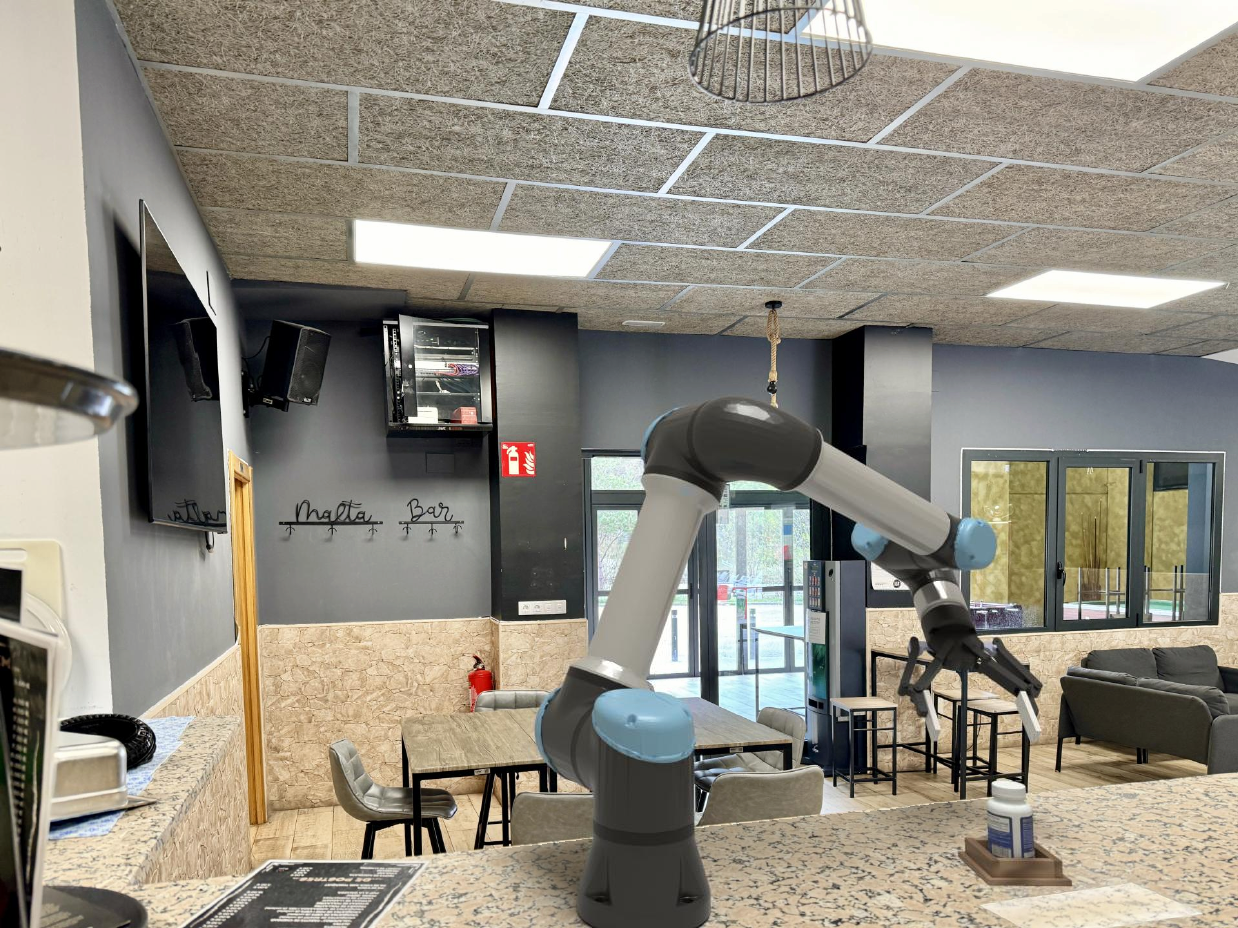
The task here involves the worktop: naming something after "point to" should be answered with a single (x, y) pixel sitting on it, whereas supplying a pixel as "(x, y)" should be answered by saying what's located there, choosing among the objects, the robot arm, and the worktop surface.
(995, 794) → the pill bottle
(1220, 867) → the worktop surface
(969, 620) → the robot arm
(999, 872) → the socket block
